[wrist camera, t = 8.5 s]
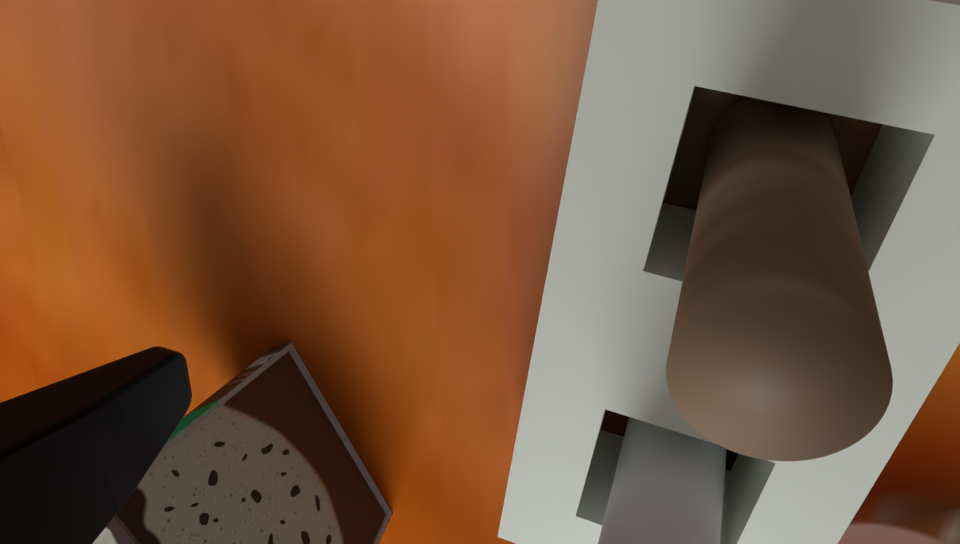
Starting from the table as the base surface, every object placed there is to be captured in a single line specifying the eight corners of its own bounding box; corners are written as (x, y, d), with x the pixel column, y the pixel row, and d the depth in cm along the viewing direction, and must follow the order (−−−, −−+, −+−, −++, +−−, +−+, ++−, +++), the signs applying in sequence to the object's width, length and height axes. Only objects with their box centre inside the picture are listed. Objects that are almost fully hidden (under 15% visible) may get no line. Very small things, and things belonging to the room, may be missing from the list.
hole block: (638, -72, 17) (608, -53, 14) (1063, -5, 15) (1147, 35, 12) (530, 453, 27) (497, 536, 23) (777, 536, 25) (778, 640, 21)
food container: (169, 335, 30) (-48, 511, 22) (272, 310, 27) (66, 503, 19) (305, 539, 35) (165, 749, 27) (407, 537, 32) (283, 772, 24)
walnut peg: (696, 184, 19) (645, 424, 11) (728, 76, 18) (695, 267, 10) (810, 210, 19) (842, 487, 11) (854, 102, 17) (933, 329, 9)
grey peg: (646, 353, 23) (578, 633, 15) (741, 380, 22) (726, 691, 14) (626, 420, 24) (555, 705, 16) (714, 448, 24) (686, 760, 15)
